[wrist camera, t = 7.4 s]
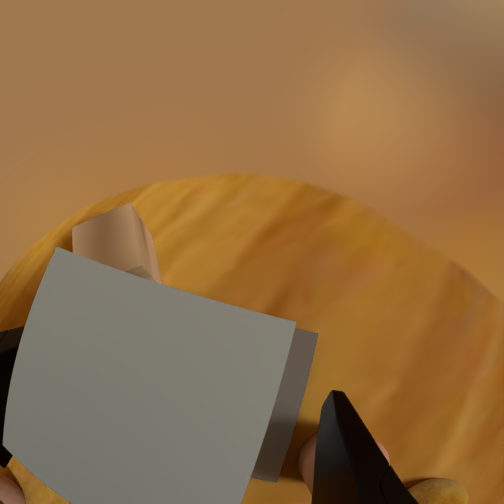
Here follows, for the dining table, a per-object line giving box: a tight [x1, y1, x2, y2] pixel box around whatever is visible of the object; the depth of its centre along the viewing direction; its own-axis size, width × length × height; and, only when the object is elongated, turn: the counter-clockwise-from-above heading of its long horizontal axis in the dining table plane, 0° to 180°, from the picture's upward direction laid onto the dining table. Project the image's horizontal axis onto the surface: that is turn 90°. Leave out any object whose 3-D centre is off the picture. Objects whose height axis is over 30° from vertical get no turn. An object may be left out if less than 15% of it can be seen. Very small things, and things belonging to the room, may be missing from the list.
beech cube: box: [72, 203, 163, 284], centre depth 17 cm, size 4×4×4 cm
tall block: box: [3, 247, 296, 504], centre depth 9 cm, size 4×4×13 cm
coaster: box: [251, 329, 318, 482], centre depth 15 cm, size 10×10×1 cm
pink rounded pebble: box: [297, 432, 390, 494], centre depth 11 cm, size 4×4×4 cm
